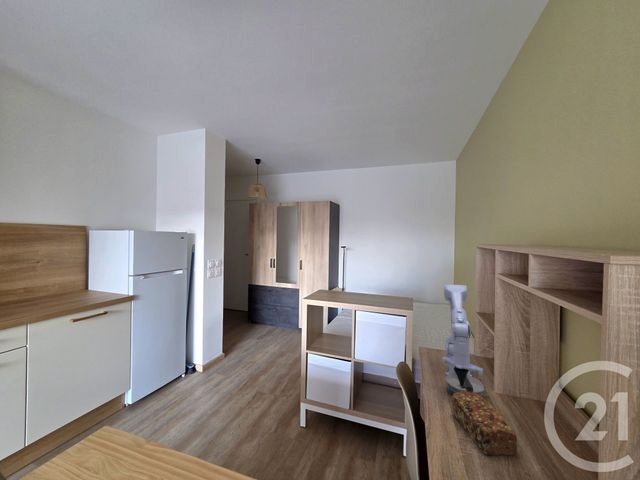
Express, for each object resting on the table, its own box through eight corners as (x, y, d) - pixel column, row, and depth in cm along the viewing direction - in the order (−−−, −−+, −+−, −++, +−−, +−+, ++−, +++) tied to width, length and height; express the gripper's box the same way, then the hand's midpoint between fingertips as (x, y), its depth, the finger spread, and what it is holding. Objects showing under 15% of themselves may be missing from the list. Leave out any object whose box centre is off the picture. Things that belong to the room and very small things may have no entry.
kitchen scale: (443, 382, 114) (443, 373, 114) (477, 386, 110) (477, 377, 110) (453, 407, 96) (452, 396, 96) (493, 413, 92) (492, 402, 92)
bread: (451, 414, 92) (450, 388, 92) (479, 414, 92) (479, 387, 92) (484, 458, 73) (483, 424, 74) (519, 457, 73) (518, 424, 74)
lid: (443, 372, 114) (442, 366, 114) (477, 377, 110) (477, 370, 110) (450, 392, 99) (450, 384, 99) (490, 397, 95) (490, 390, 95)
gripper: (439, 349, 103) (439, 382, 103) (478, 361, 93) (479, 397, 92) (445, 345, 108) (446, 376, 108) (484, 355, 98) (484, 390, 97)
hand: (462, 385), depth 101 cm, fingers closed
